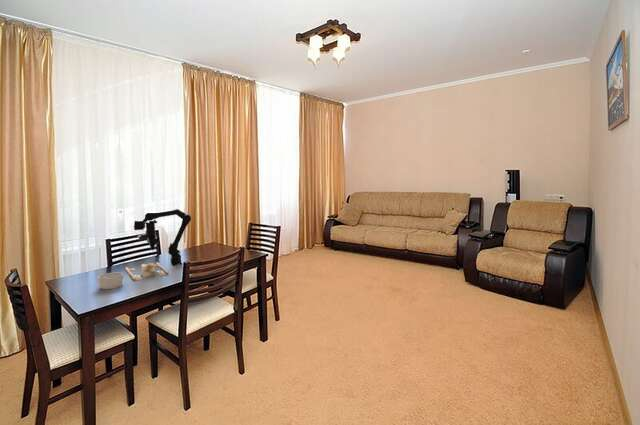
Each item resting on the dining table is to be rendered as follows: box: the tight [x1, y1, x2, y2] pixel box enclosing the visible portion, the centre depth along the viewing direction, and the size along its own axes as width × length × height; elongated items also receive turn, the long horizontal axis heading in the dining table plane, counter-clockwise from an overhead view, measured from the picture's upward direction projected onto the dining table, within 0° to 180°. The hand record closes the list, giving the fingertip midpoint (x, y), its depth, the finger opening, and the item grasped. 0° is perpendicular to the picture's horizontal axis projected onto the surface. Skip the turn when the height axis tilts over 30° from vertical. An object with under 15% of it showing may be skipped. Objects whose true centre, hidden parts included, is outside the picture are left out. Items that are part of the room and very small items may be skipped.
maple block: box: [140, 262, 157, 278], centre depth 226 cm, size 7×7×7 cm
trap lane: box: [125, 261, 170, 282], centre depth 232 cm, size 21×32×2 cm, turn 38°
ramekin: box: [97, 271, 124, 290], centre depth 203 cm, size 13×13×7 cm
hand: (152, 250), depth 245 cm, fingers closed
